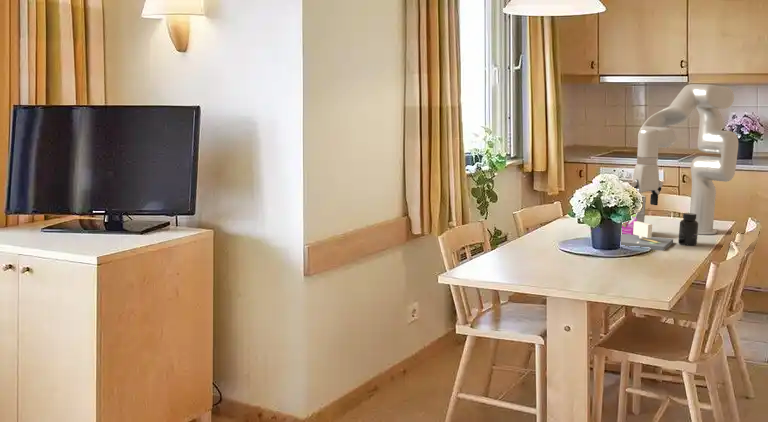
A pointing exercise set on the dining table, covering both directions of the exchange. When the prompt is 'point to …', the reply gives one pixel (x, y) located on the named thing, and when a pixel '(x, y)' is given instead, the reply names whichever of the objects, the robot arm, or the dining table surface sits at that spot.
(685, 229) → the supplement bottle
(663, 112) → the robot arm
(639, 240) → the slate dial board
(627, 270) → the dining table surface
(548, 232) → the dining table surface
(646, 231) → the white ice pop
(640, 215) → the candy bar box
